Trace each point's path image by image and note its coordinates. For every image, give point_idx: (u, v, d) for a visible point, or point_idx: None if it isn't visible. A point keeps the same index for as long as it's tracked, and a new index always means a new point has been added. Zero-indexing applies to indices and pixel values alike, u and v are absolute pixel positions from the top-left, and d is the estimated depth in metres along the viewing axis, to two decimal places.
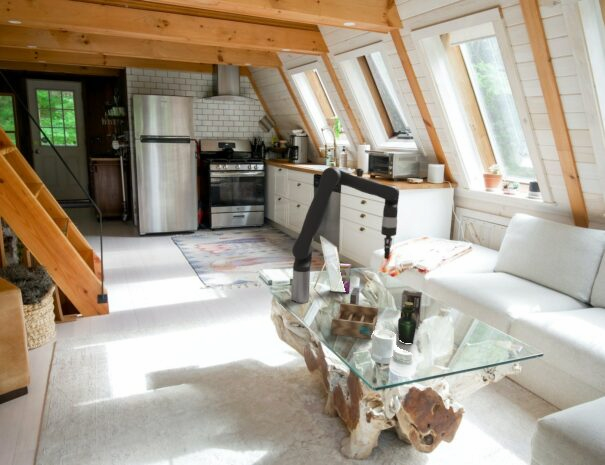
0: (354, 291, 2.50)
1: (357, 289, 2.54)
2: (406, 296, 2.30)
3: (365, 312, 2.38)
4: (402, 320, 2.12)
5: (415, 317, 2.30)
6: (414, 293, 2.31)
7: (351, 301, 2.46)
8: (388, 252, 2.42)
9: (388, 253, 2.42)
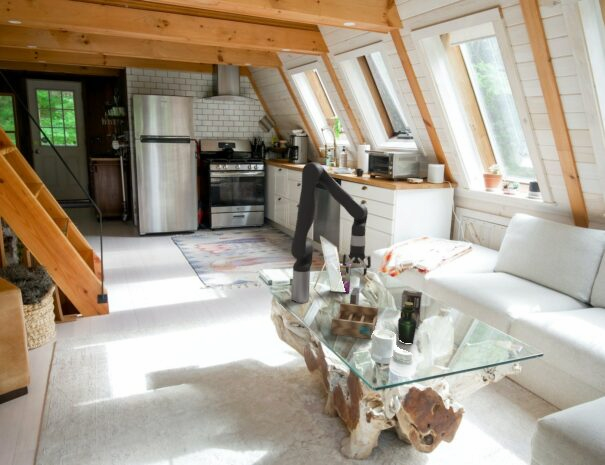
0: (354, 291, 2.50)
1: (357, 289, 2.54)
2: (406, 296, 2.30)
3: (365, 312, 2.38)
4: (402, 320, 2.12)
5: (415, 317, 2.30)
6: (414, 293, 2.31)
7: (351, 301, 2.46)
8: None
9: None
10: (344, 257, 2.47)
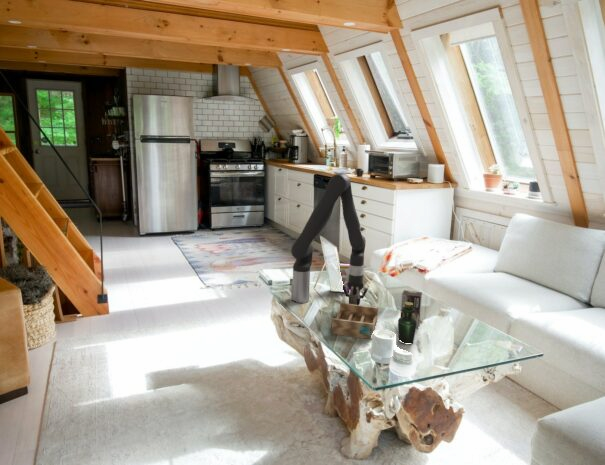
0: None
1: None
2: (406, 296, 2.30)
3: (365, 312, 2.38)
4: (402, 320, 2.12)
5: (415, 317, 2.30)
6: (414, 293, 2.31)
7: (351, 301, 2.46)
8: None
9: None
10: (344, 288, 2.50)
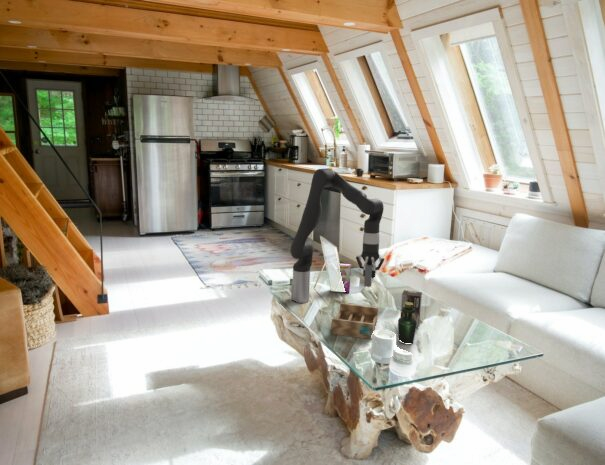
0: None
1: None
2: (406, 296, 2.30)
3: (365, 312, 2.38)
4: (402, 320, 2.12)
5: (415, 317, 2.30)
6: (414, 293, 2.31)
7: (366, 272, 2.21)
8: None
9: None
10: (358, 260, 2.26)
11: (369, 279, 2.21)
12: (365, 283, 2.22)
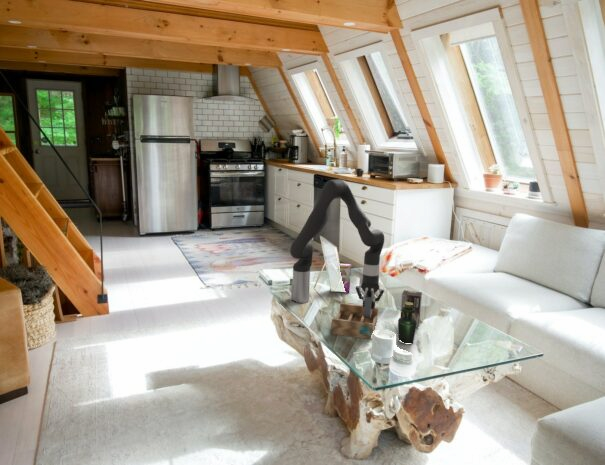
0: None
1: None
2: (406, 296, 2.30)
3: None
4: (402, 320, 2.12)
5: (415, 317, 2.30)
6: (414, 293, 2.31)
7: (365, 304, 2.20)
8: None
9: None
10: (357, 290, 2.25)
11: (369, 311, 2.20)
12: (364, 314, 2.21)
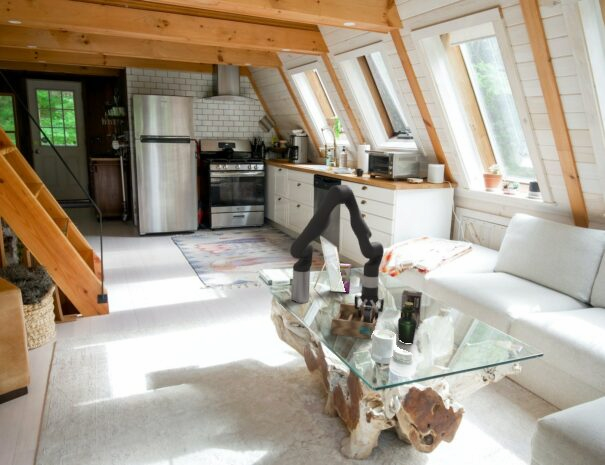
0: (368, 306, 2.26)
1: None
2: (406, 296, 2.30)
3: None
4: (402, 320, 2.12)
5: (415, 317, 2.30)
6: (414, 293, 2.31)
7: (365, 318, 2.21)
8: None
9: None
10: (355, 300, 2.26)
11: None
12: None
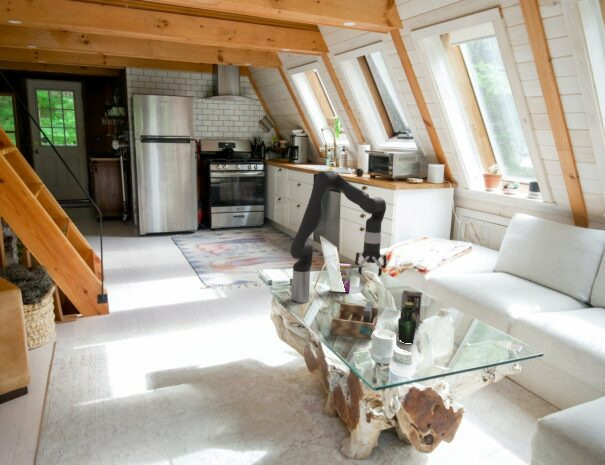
0: (368, 306, 2.26)
1: (371, 304, 2.29)
2: (406, 296, 2.30)
3: None
4: (402, 320, 2.12)
5: (415, 317, 2.30)
6: (414, 293, 2.31)
7: (365, 318, 2.21)
8: None
9: None
10: (357, 256, 2.22)
11: None
12: None
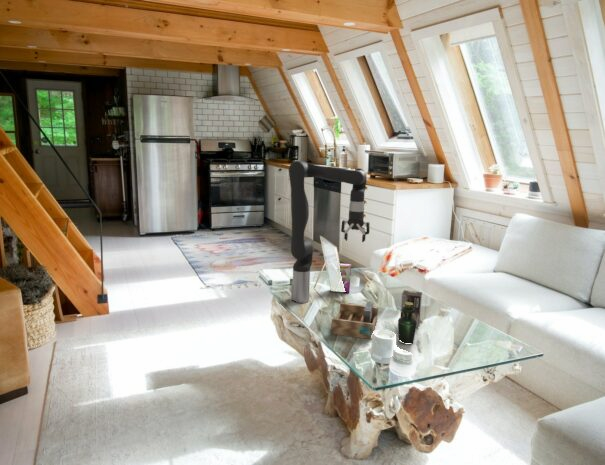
0: (368, 306, 2.26)
1: (371, 304, 2.29)
2: (406, 296, 2.30)
3: None
4: (402, 320, 2.12)
5: (415, 317, 2.30)
6: (414, 293, 2.31)
7: (365, 318, 2.21)
8: None
9: None
10: (343, 223, 2.46)
11: None
12: None
